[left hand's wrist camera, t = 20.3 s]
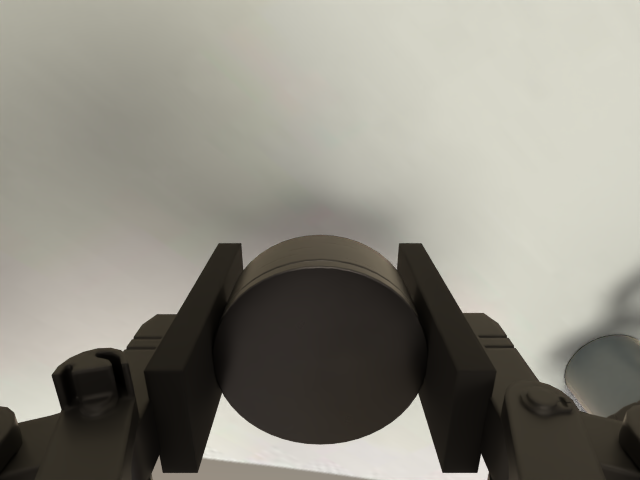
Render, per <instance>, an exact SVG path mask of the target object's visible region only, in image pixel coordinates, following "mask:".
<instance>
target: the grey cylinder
mask: <svg viewBox="0 0 640 480" xmlns="http://www.w3.org/2000/svg"><path fill="white" fill-rule="evenodd" d="M565 380H566V384H567V387H568V388H569V390H570V391H571V393H572V394H573V395H574V397H575V398H576V399H577V400H578V402H579V403H580V404H581V405H582V407H583V408H584V409H585V411H586V412H587V413H588V414H592V415H597V416H601V417H606V418H607V417H608V416H610V415H612V414H615V413H616V412H618V411H619V410H620V409H622V408H623V407H625V406H627V405H630V404H632V403H634V402H636V403H637V401H639V400H640V341H639V340H637V339H635V338H632V337H629V336H624V335H611V336H605V337H602V338H598V339H596V340H594V341H591V342H590V343H588V344H586V345H585V346H583V347H582V348H581V349H579V350H578V351H577V352H576V353H575V354H574V356H573V357H572V358H571V360H570V361H569V363H568V366H567V368H566V373H565Z"/></svg>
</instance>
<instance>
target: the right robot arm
mask: <svg viewBox="0 0 640 480" xmlns="http://www.w3.org/2000/svg"><path fill="white" fill-rule="evenodd" d="M635 405H640V400H639V401H637V403H636V402H634V403H632V404H630V405H627V406H625V407H623V408H622V409H620V410H619V411H618V412H616V413H615V414H612V415H610V416H608V417H607V418H610V419H614V420H619V421H624V418H625V415H626V412H627V410H629V409H630V408H631V407H632V406H635Z"/></svg>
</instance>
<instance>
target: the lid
mask: <svg viewBox="0 0 640 480" xmlns="http://www.w3.org/2000/svg"><path fill="white" fill-rule="evenodd" d="M212 356H213V365H214V373H215V377H216V380H217V382H218V385H219V387H220V389H221V391H222V393H223V395H224V397H225V398H226V399H227V401H228V402H229V403H230V405H231V406H232V407H233V408H234V409H235V410H236V411H237V412H238V414H239V415H241V416H242V417H243V418H244V419H246V420H247V421H248V422H249V423H251V424H252V425H254V426H256V427H257V428H259V429H260V430H262V431H265V432H267V433H269V434H271V435H273V436H276V437H279V438H282V439H285V440H289V441H293V442H299V443H305V444H335V443H342V442H347V441H351V440H355V439H359V438H362V437H364V436H367V435H370V434H372V433H374V432H376V431H378V430H380V429H382V428H383V427H385V426H387V425H388V424H390V423H391V422H393V421H394V420H395V419H396V418H397V417H399V416H400V415H401V414H402V413H403V412H404V411H405V410H406V409H407V408H408V407H409V406H410V404H411V403H412V401H413V400H414V399H415V397H416V396H417V394H418V392H419V390H420V388H421V386H422V384H423V381H424V378H425V376H426V368H427V359H428V344H427V338H426V335H425V331H424V328H423V325H422V323H421V321H420V318H419V315H418V313H417V310H416V308H415V306H414V303H413V301H412V298H411V296H410V293H409V291H408V288H407V286H406V284H405V282H404V280H403V278H402V277H401V275H400V274H399V272H398V271H397V270H396V269H395V267H394V266H393V265H392V264H391V263H390V262H389V261H388V260H387V259H386V258H384V257H383V256H382V255H381V254H379V253H378V252H376V251H375V250H373V249H372V248H370V247H368V246H366V245H364V244H361V243H359V242H357V241H353V240H350V239H347V238H343V237H337V236H329V235H312V236H303V237H298V238H293V239H290V240H287V241H284V242H281V243H279V244H277V245H275V246H273V247H270V248H269V249H267V250H266V251H264V252H263V253H261V254H260V255H258V256H257V257H256V258H255V259H254V260H253V261H251V262H250V263H249V265H248V266H247V267H246V268H245V269H244V270H243V272H242V273H241V275H240V276H239V278H238V279H237V281H236V283H235V285H234V287H233V289H232V292H231V294H230V297H229V299H228V302H227V304H226V307H225V309H224V312H223V314H222V317H221V319H220V322H219V324H218V327H217V330H216V333H215V337H214V340H213V348H212Z"/></svg>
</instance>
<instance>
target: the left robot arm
mask: <svg viewBox="0 0 640 480" xmlns="http://www.w3.org/2000/svg"><path fill="white" fill-rule="evenodd" d="M397 271H398V272H399V274H400V275H401V277H402V278H403V280H404V282H405V284H406V286H407V288H408V291H409V293H410V296H411V298H412V301H413V303H414V306H415V308H416V310H417V313H418V315H419V318H420V321H421V323H422V325H423V328H424V331H425V335H426V338H427V344H428V359H427V368H426V376H425V378H424V381H423V384H422V386H421V388H420V390H419V392H418V394H419V397H420V400H421V403H422V407H423V410H424V413H425V417H426V420H427V423H428V426H429V430H430V433H431V436H432V440H433V443H434V446H435V449H436V453H437V456H438V459H439V462H440V466H441V469H442V472H443V473H477V472H478V467H479V462H480V456H481V454H482V456H483V459H484V461H485V463H486V466H487V468H488V471H489V474H488V479H487V480H640V405H635V406H632V407H631V408H630V409H629V410H627V412H626V415H625V418H624V421H619V420H614V419H610V418H606V417H601V416H597V415H592V414H588V413H585V412H582V411H579V409H578V408H577V406H576V405H575V403H574V402H573V400H572V399H571V398H569V397H568V396H567V395H566V394H565V393H563V392H562V391H560V390H558V389H556V388H555V387H553V386H551V385H549V384H545V383H542V382H539V380H538V379H537V378H536V376H535V375H534V373H533V372H532V370H531V369H530V368H529V366H528V365H527V363H526V362H525V361H524V359H523V358H522V356H521V355H520V353H519V352H518V351H517V349H516V348H514V345H513V344H512V342H511V341H510V339H509V338H507V335H506V334H505V332H504V331H503V329H502V328H501V327H500V325H499V324H498V323H497V322H495V321H494V320H493V319H491V318H490V317H488V316H487V315H485V314H484V313H462V311H461V310H460V308H459V306H458V305H457V303H456V301H455V299H454V298H453V296H452V294H451V293H450V291H449V289H448V288H447V286H446V284H445V282H444V281H443V279H442V277H441V276H440V274H439V272H438V271H437V269H436V267H435V265H434V264H433V262H432V260H431V259H430V257H429V255H428V254H427V252H426V250H425V249H424V247H423V245H422V243H399V252H398V265H397ZM242 272H243V262H242V248H241V243H219V244H218V246H217V247H216V249H215V251H214V252H213V254H212V256H211V257H210V259H209V261H208V263H207V264H206V266H205V268H204V269H203V271H202V273H201V274H200V276H199V278H198V280H197V281H196V283H195V285H194V286H193V288H192V290H191V291H190V293H189V295H188V296H187V298H186V300H185V302H184V303H183V305H182V307H181V308H180V310H179V312H178V313H177V314H157V315H155V316H154V317H153V318H151V319H150V320H148V321H147V322H146V323H144V324H143V325H142V326H141V327H140V329H139V330H138V332H137V333H136V334H135V336H134V339H132V340H131V342H130V343H129V344H128V346H127V349H126V350H124V351H121V350H118V349H114V348H97V349H93V350H89V351H85V352H82V353H80V354H78V355H75V356H73V357H71V358H69V359H68V360H66V361H65V362H64V363H62V364H61V365H59V366H58V367H57V369H56V370H55V371H54V373H53V374H52V378H53V382H54V385H55V389H56V392H57V395H58V399H59V402H60V406H61V409H62V410H61V413H58V414H54V415H51V416H47V417H42V418H38V419H34V420H29V421H25V422H20V423H18V422H17V420H16V417H15V414H14V412H13V411H11V410H10V409H9V408H8V407H1V406H0V480H153V479H152V474H151V473H152V471H153V469H154V466H155V464H156V461H157V459H158V457H159V455H160V460H161V465H162V471H163V473H198V470H199V466H200V463H201V460H202V457H203V453H204V450H205V447H206V444H207V440H208V437H209V434H210V430H211V427H212V424H213V421H214V417H215V414H216V411H217V408H218V404H219V401H220V398H221V394H222V391H221V389H220V387H219V385H218V382H217V380H216V377H215V373H214V365H213V356H212V348H213V340H214V337H215V333H216V330H217V327H218V324H219V322H220V319H221V317H222V314H223V312H224V309H225V307H226V304H227V302H228V299H229V297H230V294H231V292H232V289H233V287H234V285H235V283H236V281H237V279H238V278H239V276H240V275H241V273H242Z"/></svg>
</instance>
